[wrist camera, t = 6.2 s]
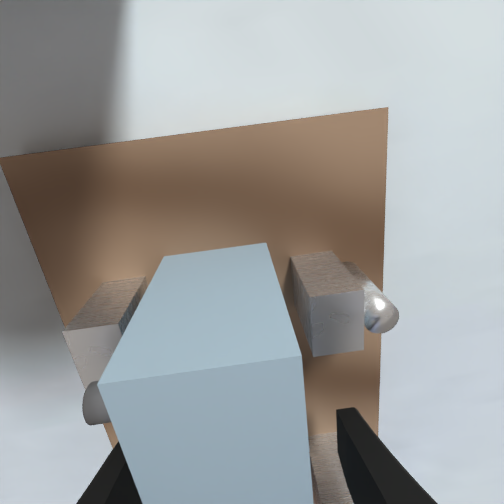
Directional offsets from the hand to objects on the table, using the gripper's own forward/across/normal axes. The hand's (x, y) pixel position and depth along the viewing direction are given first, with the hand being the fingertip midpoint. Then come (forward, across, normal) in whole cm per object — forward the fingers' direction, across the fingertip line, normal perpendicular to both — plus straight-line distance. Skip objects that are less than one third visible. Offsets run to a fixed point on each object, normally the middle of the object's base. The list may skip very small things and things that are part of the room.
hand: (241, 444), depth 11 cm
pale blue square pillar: (+3, 0, 0) cm, 3 cm away
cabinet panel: (+4, 0, 0) cm, 4 cm away
